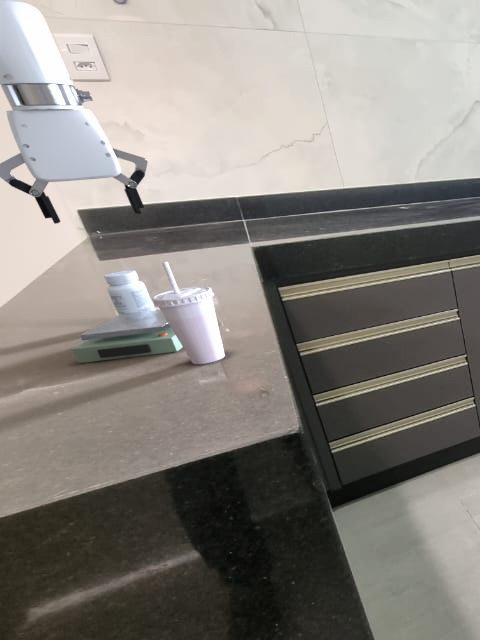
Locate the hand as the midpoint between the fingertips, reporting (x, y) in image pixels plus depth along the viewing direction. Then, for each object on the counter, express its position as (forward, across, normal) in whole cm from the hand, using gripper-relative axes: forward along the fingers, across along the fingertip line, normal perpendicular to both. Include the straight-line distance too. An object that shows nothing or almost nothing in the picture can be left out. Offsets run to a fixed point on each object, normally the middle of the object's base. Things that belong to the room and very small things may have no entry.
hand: (99, 217), depth 85 cm
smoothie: (+18, -4, +32) cm, 37 cm away
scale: (+18, +1, +16) cm, 24 cm away
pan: (+15, +1, +16) cm, 22 cm away
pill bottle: (+18, +1, 0) cm, 18 cm away
